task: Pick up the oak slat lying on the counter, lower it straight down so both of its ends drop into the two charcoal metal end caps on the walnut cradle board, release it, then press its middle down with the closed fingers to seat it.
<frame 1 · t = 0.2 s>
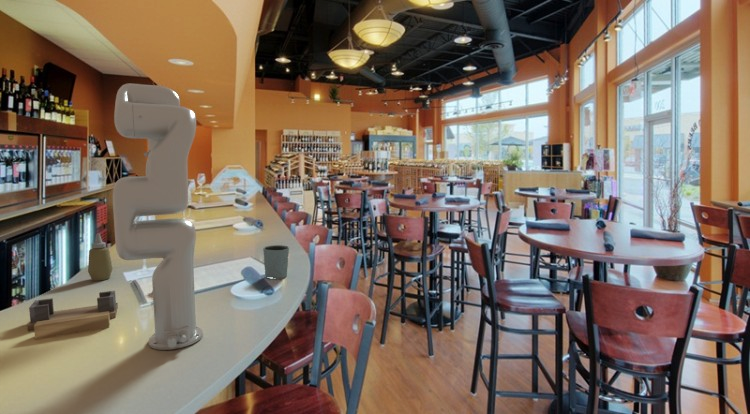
hand: (164, 205, 139), 31 cm above the bar counter, tool pointing down, fingers open, 9 cm apart
decorative ornament: (163, 293, 142), on the bar counter
squeeze bottle: (101, 279, 158), on the bar counter
cradle board: (76, 318, 118), on the bar counter
oak slat: (74, 332, 109), on the bar counter
grey green cup: (276, 276, 163), on the bar counter
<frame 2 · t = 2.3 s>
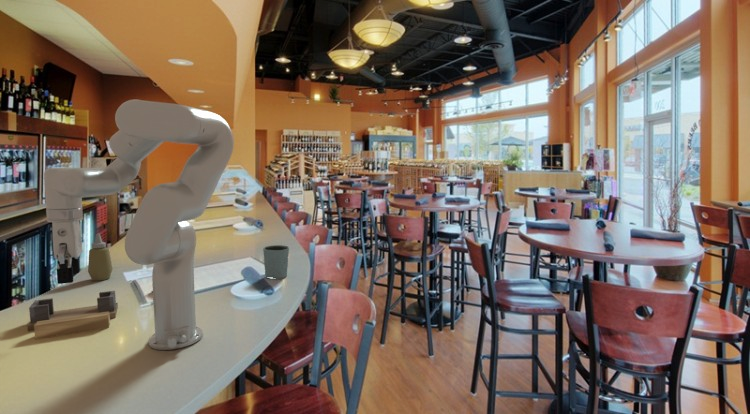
hand: (69, 278, 107), 15 cm above the bar counter, tool pointing down, fingers open, 9 cm apart
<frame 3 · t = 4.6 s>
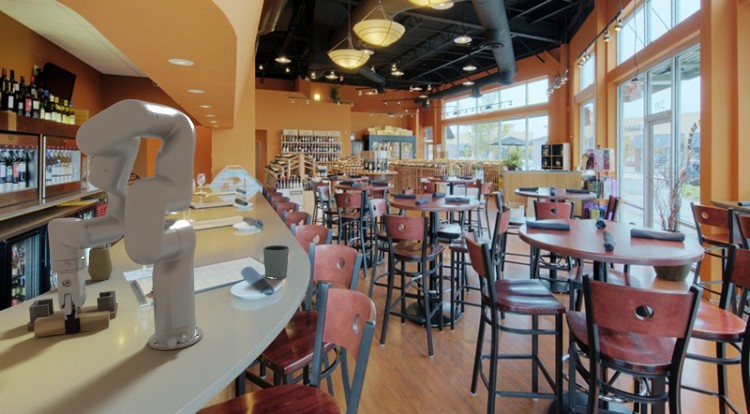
hand: (74, 329, 109), 0 cm above the bar counter, tool pointing down, fingers closed on oak slat, 2 cm apart
oak slat: (73, 330, 109), on the bar counter, touching gripper
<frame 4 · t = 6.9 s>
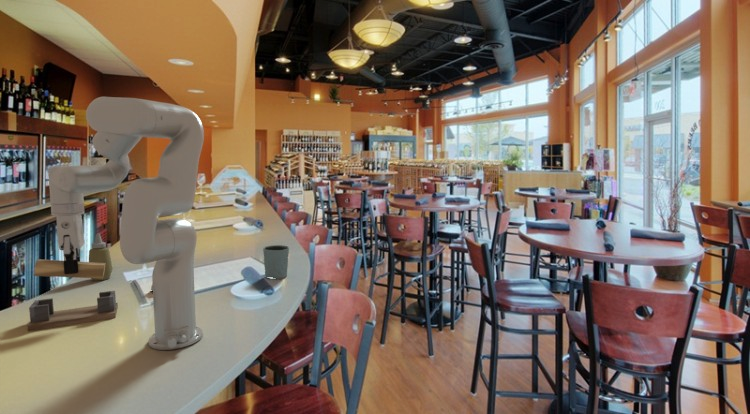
hand: (72, 271, 116), 14 cm above the bar counter, tool pointing down, fingers closed on oak slat, 3 cm apart
oak slat: (70, 275, 116), point 13 cm above the bar counter, tilted 11°, touching gripper
when the fingers open (4 cm above the bar counter, at t = 9.3 s): oak slat drops 1 cm, resting on cradle board.
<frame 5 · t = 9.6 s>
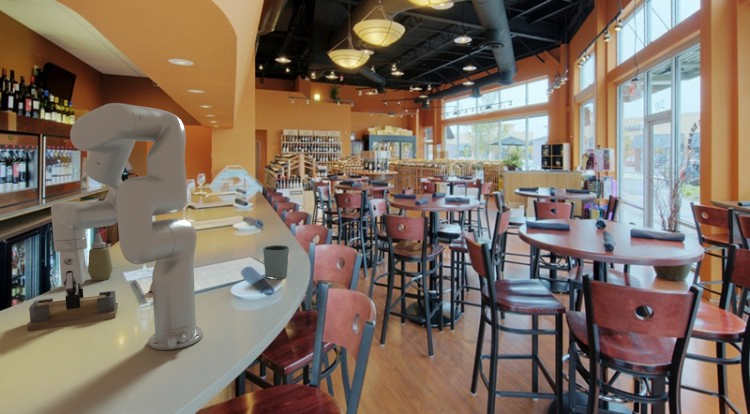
hand: (75, 304, 117), 4 cm above the bar counter, tool pointing down, fingers open, 5 cm apart
oak slat: (73, 313, 117), point 1 cm above the bar counter, touching cradle board
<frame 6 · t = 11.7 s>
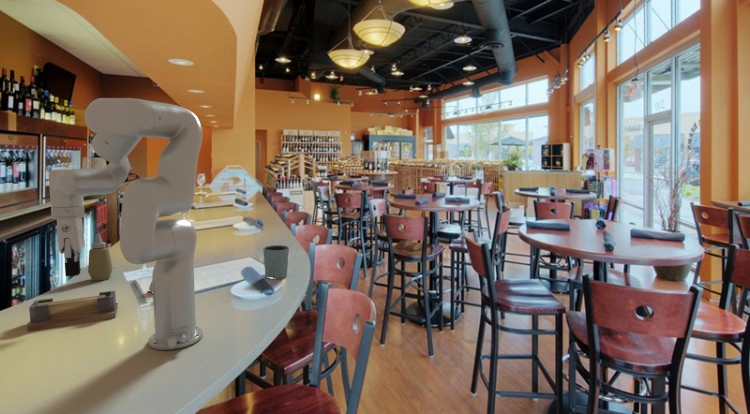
hand: (73, 274, 116), 13 cm above the bar counter, tool pointing down, fingers closed
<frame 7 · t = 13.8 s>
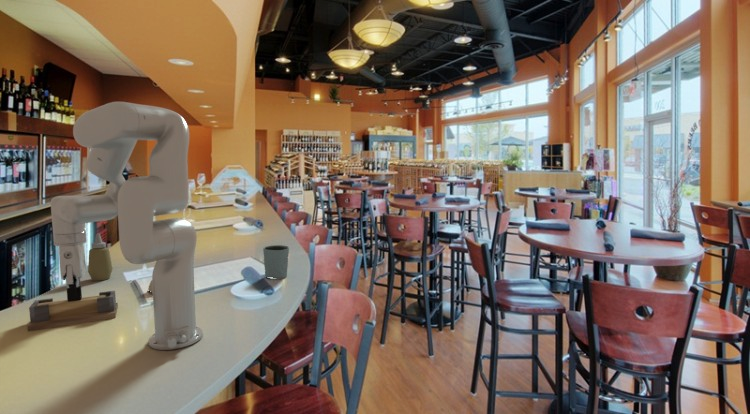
hand: (74, 300, 117), 6 cm above the bar counter, tool pointing down, fingers closed
oak slat: (73, 313, 117), point 1 cm above the bar counter, touching cradle board, gripper
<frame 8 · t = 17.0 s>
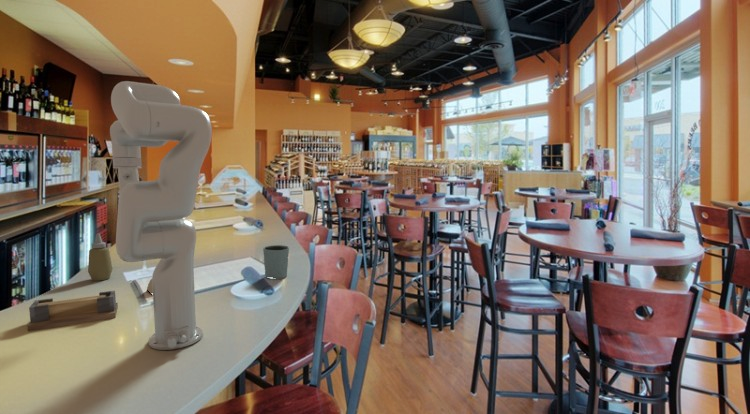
hand: (130, 222, 126), 27 cm above the bar counter, tool pointing down, fingers closed
oak slat: (73, 313, 117), point 1 cm above the bar counter, touching cradle board
at the end: oak slat 0.7 cm off-centre on the cradle board, point 1.5 cm above the cradle board's base; oak slat tilted 0°; the gripper is holding nothing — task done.
